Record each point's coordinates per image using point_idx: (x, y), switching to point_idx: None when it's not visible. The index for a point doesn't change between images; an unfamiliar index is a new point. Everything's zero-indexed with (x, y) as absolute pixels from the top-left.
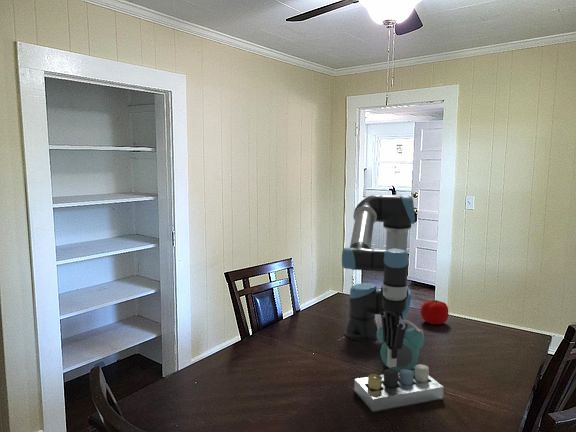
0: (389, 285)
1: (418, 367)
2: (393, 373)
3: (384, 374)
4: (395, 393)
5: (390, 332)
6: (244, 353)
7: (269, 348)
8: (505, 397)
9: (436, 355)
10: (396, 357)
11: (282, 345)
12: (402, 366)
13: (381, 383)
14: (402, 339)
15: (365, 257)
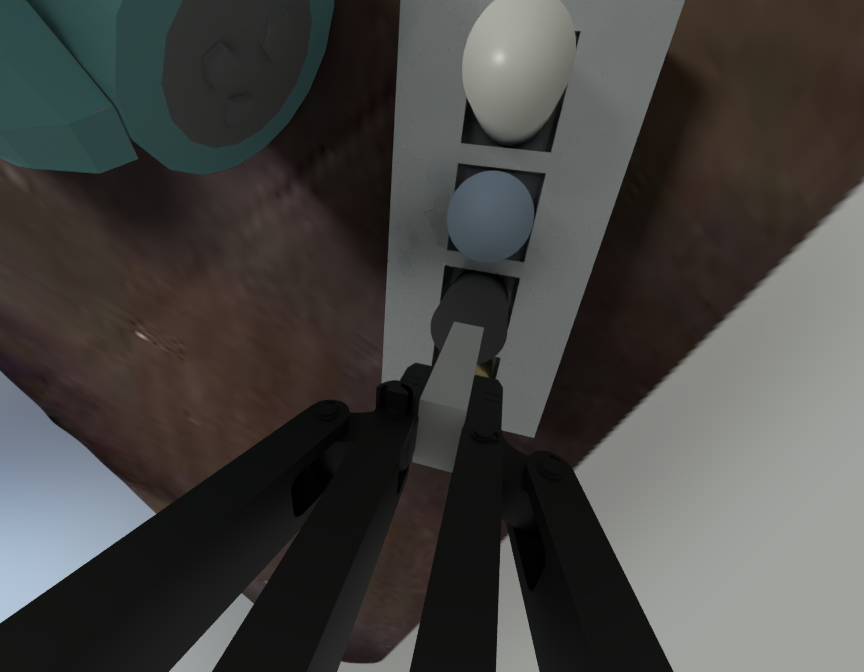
0: None
1: (501, 99)
2: (486, 329)
3: None
4: (552, 343)
5: (347, 619)
6: (152, 476)
7: (121, 421)
8: None
9: None
10: (500, 388)
11: (99, 385)
12: (302, 61)
13: (479, 372)
14: (650, 657)
15: None
